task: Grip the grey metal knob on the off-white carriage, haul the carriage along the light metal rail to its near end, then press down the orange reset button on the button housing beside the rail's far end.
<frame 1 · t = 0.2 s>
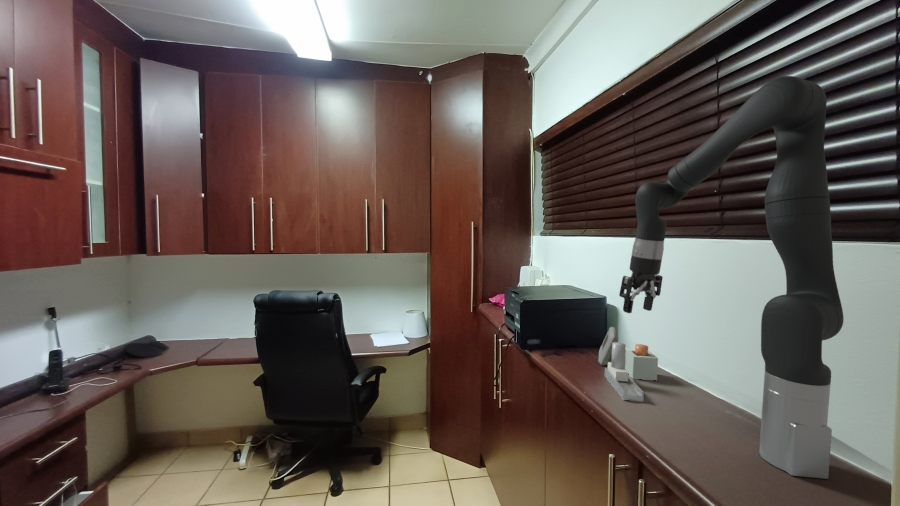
hand: (637, 311, 104), 22 cm above the table, tool pointing down, fingers open, 8 cm apart
button housing: (640, 375, 115), on the table
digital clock: (607, 360, 129), on the table
reset button: (641, 350, 114), point 8 cm above the table, slide at 0.0 cm
carriage: (618, 360, 109), point 7 cm above the table, slide at 0.0 cm
rail: (622, 387, 105), on the table
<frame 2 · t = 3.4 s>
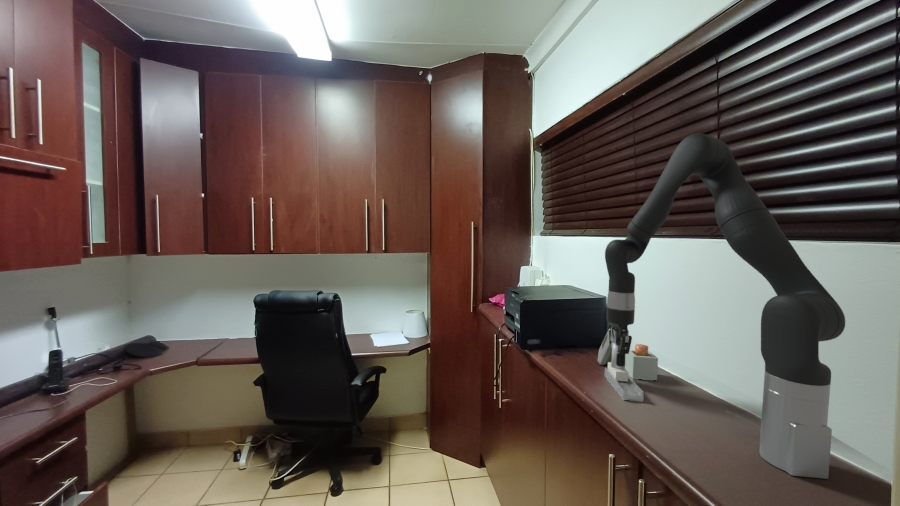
hand: (617, 363, 109), 6 cm above the table, tool pointing down, fingers closed on carriage, 3 cm apart
carriage: (618, 360, 109), point 7 cm above the table, slide at 0.0 cm, touching gripper
everything else where it was.
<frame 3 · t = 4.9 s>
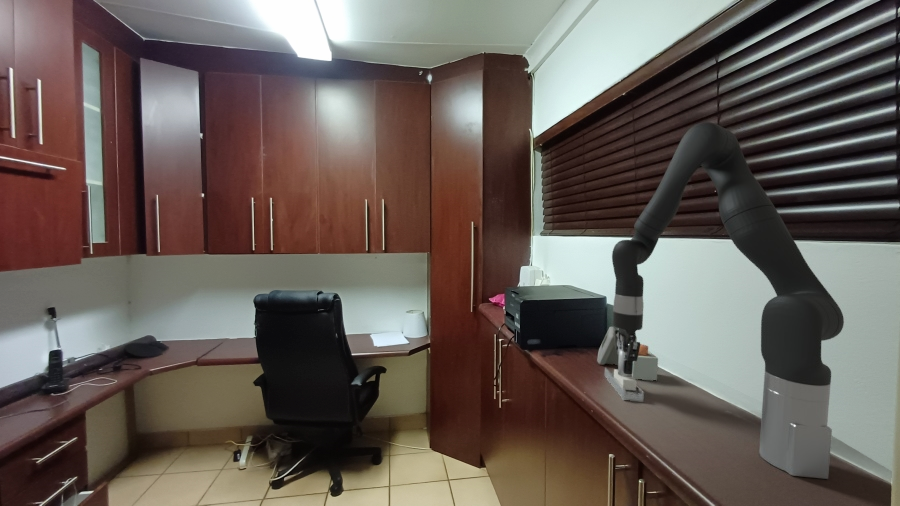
hand: (625, 370, 103), 6 cm above the table, tool pointing down, fingers closed on carriage, 3 cm apart
carriage: (625, 367, 103), point 7 cm above the table, slide at 6.1 cm, touching gripper
everything else where it was.
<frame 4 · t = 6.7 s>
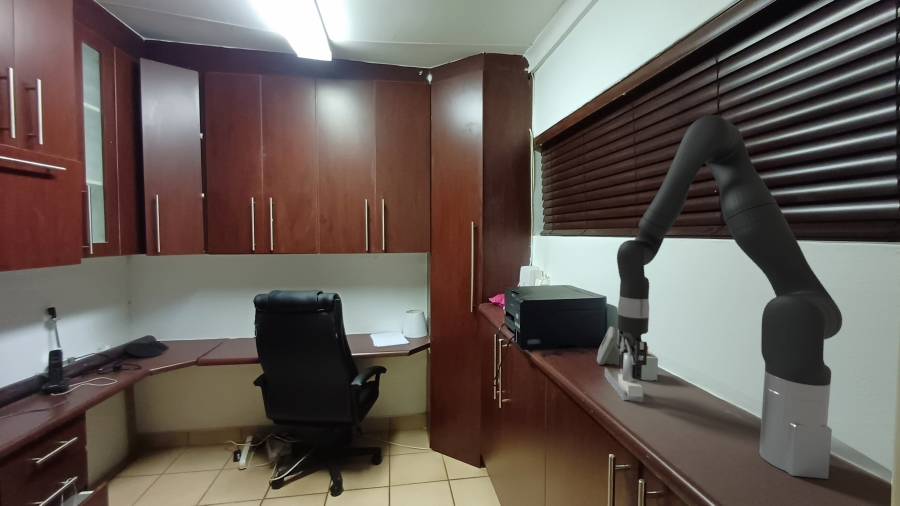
hand: (630, 372, 99), 7 cm above the table, tool pointing down, fingers open, 8 cm apart
carriage: (630, 372, 99), point 7 cm above the table, slide at 10.0 cm
everything else where it was.
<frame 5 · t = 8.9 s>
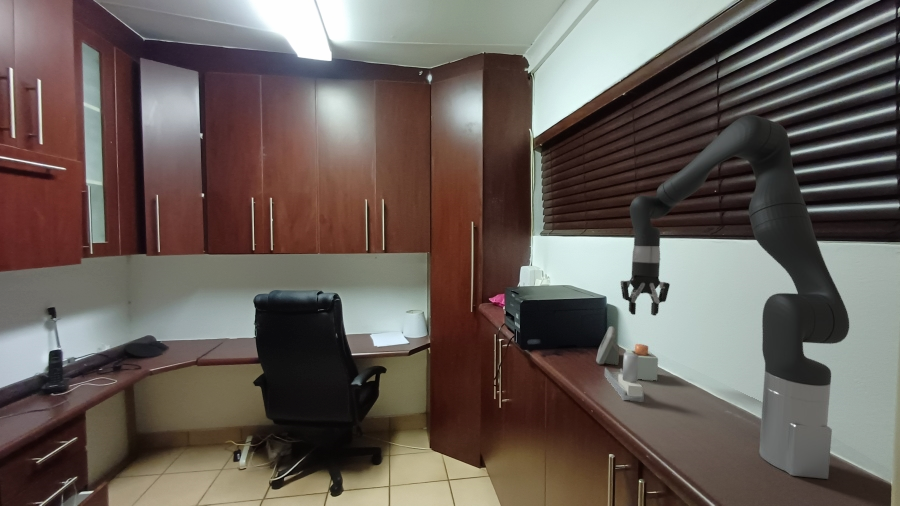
hand: (643, 314, 114), 20 cm above the table, tool pointing down, fingers open, 5 cm apart
nothing on the table moved.
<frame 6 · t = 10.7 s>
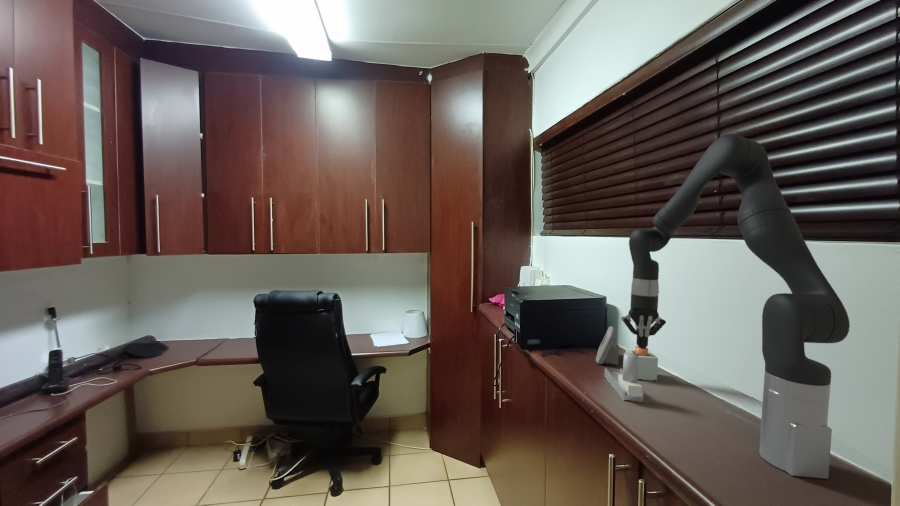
hand: (641, 347, 115), 9 cm above the table, tool pointing down, fingers closed
reset button: (641, 352, 115), point 7 cm above the table, slide at 0.6 cm, touching gripper
everything else where it was.
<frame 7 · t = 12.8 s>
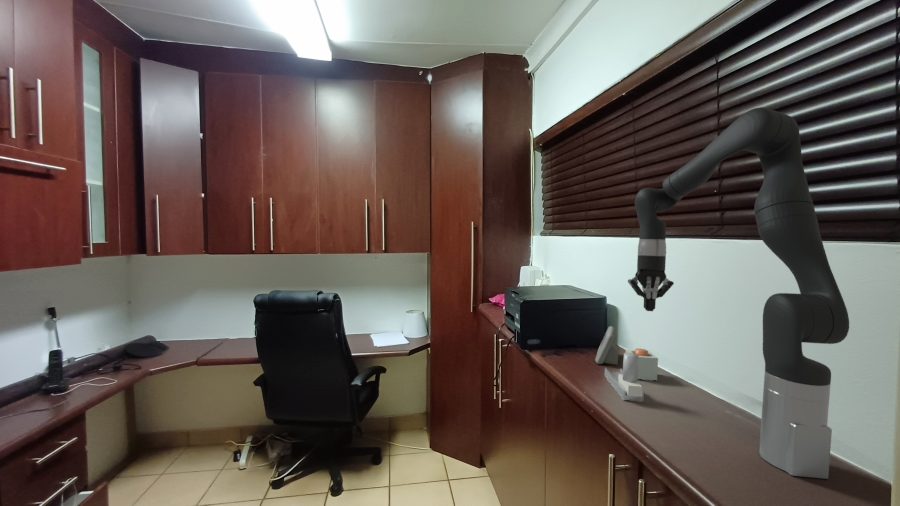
hand: (649, 310, 112), 21 cm above the table, tool pointing down, fingers closed
reset button: (641, 355, 115), point 7 cm above the table, slide at 1.4 cm
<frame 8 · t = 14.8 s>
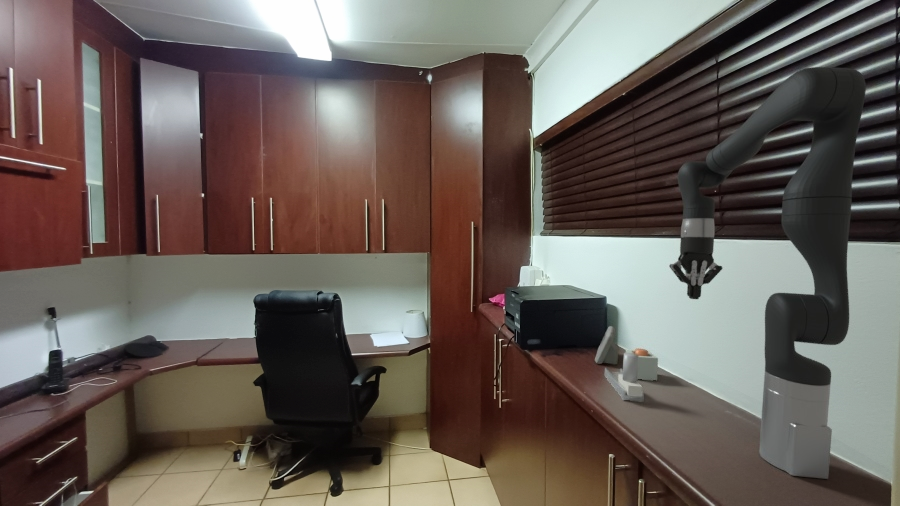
hand: (693, 298, 100), 27 cm above the table, tool pointing down, fingers closed
at the end: carriage slide at 10.0 cm; reset button slide at 1.4 cm; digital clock moved 1.3 cm from its start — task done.
